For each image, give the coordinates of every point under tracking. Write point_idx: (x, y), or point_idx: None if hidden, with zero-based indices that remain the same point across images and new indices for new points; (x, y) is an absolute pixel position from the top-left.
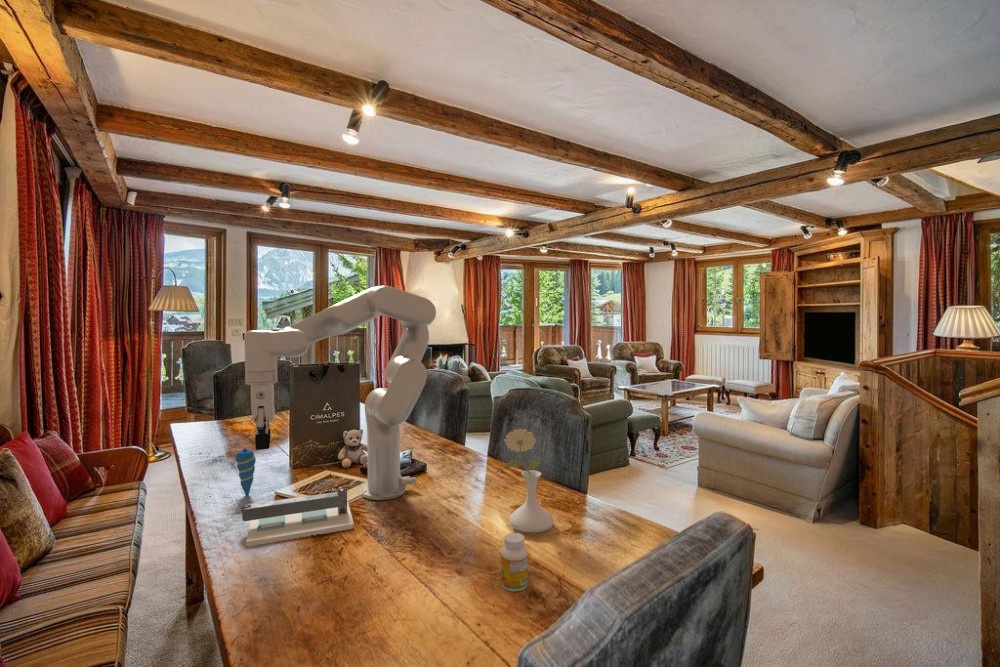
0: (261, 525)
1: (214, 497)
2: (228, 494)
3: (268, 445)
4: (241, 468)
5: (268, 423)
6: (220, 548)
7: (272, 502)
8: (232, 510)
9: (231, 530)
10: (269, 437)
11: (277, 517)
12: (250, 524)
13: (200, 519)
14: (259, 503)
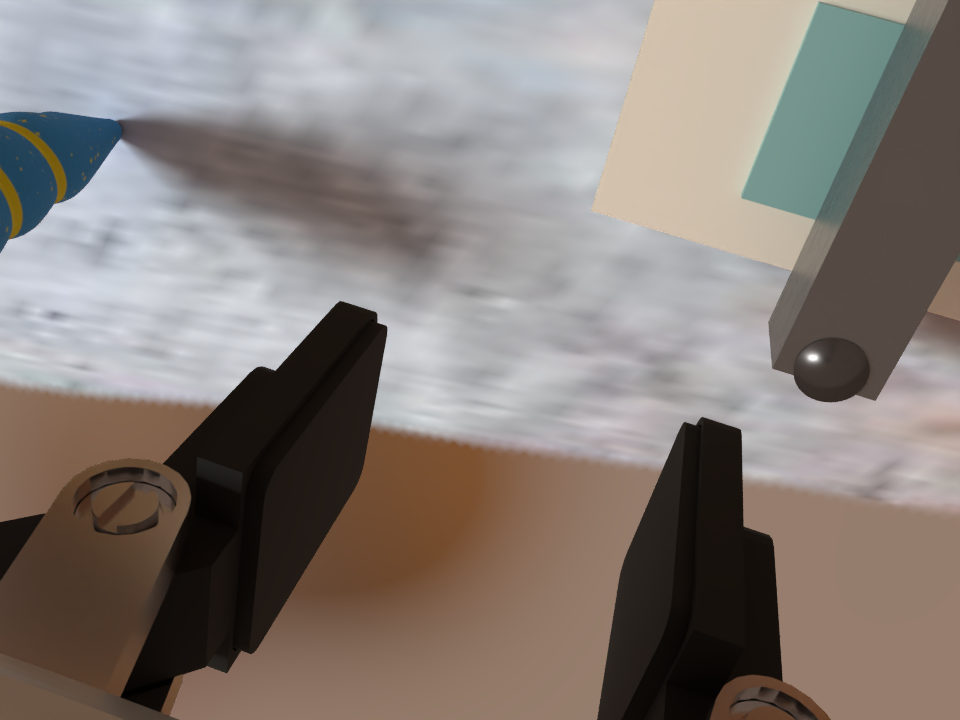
0: None
1: (83, 301)
2: (58, 225)
3: (739, 469)
4: (1, 250)
5: (154, 604)
6: (927, 444)
7: (913, 176)
8: (356, 265)
9: (695, 341)
10: (347, 381)
11: (825, 74)
12: (773, 262)
13: (402, 427)
14: (841, 275)
